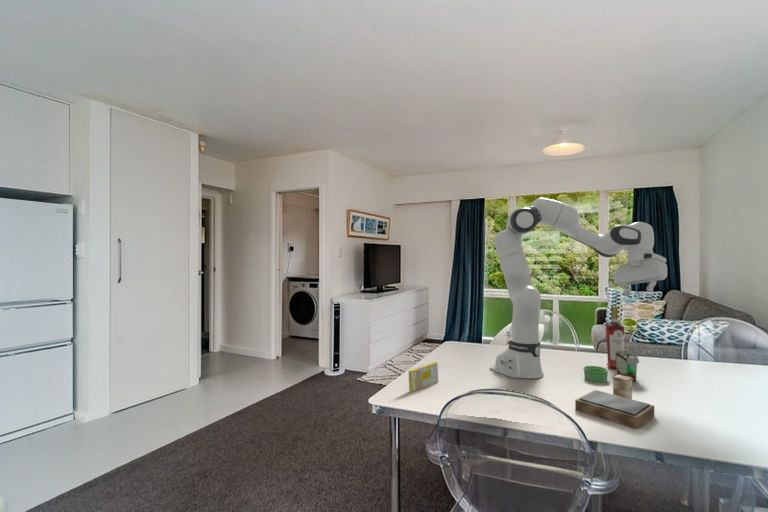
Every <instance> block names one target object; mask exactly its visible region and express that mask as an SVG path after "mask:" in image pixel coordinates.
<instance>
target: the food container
mask: <svg viewBox="0 0 768 512" xmlns="http://www.w3.org/2000/svg"><path fill="white" fill-rule="evenodd" d="M615 356H616V367H617V370H616V375H623V376H627V377H632V382H634V383H636V382H637V372H638V371H637V370H638V369H637V368H638V364H639V363H640V360H639V357H638V355H636V354H633V353H630V352H624V351H623V352H616V353H615ZM635 381H636V382H635Z"/></svg>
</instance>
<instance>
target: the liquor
mask: <svg viewBox="0 0 768 512" xmlns="http://www.w3.org/2000/svg"><path fill="white" fill-rule="evenodd" d="M610 308H611V309H610V310H611V319H610V323H608V324H606V325H605V339H606V351H607V353H606V354H607V362H606V366H607V367H608V368H609V369H610V368H611V370H614V369H617V367H616V356H615V353H616V352H624V348H625V346H624V345H625V344H624V343H625V328H626V327H625V326H623V325H622V324H620V322H619V315H618V314H619V306H617V305H611V307H610Z"/></svg>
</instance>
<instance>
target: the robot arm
mask: <svg viewBox="0 0 768 512" xmlns="http://www.w3.org/2000/svg"><path fill="white" fill-rule="evenodd" d="M539 224H542V225H546V226H548V227H550V228H554V229H555V230H558V231H559V232H561V233H563V234H564V235H565V236H567V237H569V238H570V239H573V240H574V241H576V242H578V243H579V244H580V243H581V244H583V245H585V246H586V247H589V248H590V249H592V250H593V251H594V252H596V253H597V254H598V255H599V256H602V257H604V258H613V257H615V256H617V255H618V254H619V253H621V251H623V250H624V251H627V256H626V263H623V264H619V265H618V266H617V267H616V269H615V273H614V278H613V283H614V284H615V285H617V286H619V287H622V289H623V293H624V295H626V296H627V295H628V296H629V295H631V290H630V289H629V286H631V285H637V284H643V283H649V284H648V286H646V287H645V288H646V292H647V293H651V292H652V293H653V292H654V287H656V285H657V282H658V281H664V280H665V279H667V277H668V265H667V264H666V263H667V258H665V256H663V255H660V254H656V253H654V250H653V248H654V245H655V232H654V229H653V227H652V225H651V224H649V223H647V222H643V221H636V222H633V223H631V224H616V225H614V226H612V227H611V228H610V229H608V230H607V231H606V232H605V233H603V234H597V233H594V232H593V231H590V230H589V229H587V228H585V227H582V225H581V224H580V214H579V212H578V210H577V209H576V208H575V207H573V206H572V205H569V204H568V203H565V202H561V201H558V200H555V199H552V198H551V199H550V198H547V197H539V198H536V199H535V200H534V201H533V202H532V204H531V206H526V207H520V208H518V209H517V208H516V209H515V210H513V211H511V213H509V215H508V216H507V219H506V221H505V225H504V229H503V230H500V231H498V232H497V233H496V234H495V236H494V246H495V251H496V256H497V258H498V262H499V265H500V267H501V271H502V273H503V277H504V280H505V281H504V282H505V284H506V285H505V286H506V288H507V291H508V292H507V293H508V295H509V299H510V301H511V303H512V317H511V319H512V320H511V340H508V341H507V342H506V345H508V348H506V349H505V350H503V351H502V352H500V353H499V354H498V355H496V358H495V363H494V364H491V365H490V368H489V369H490V371H494V372H496V373H498V372H499V373H498V374H502V375H504V376H507V377H509V378H512V379H530V380H531V379H540V378H543V377H544V371H543V369H542V365H541V358H540V357H541V342H540V338H539V337H540V329H539V327H540V316H541V306H542V303H541V302H542V295H541V293H540V291H539V289H537V288H536V287H534V284H533V280H532V276H531V270H530V267H529V263H528V260H527V257H526V254H525V252H524V248H523V246H522V237H523V235H525V234H528V233H530V232H532V231H534V229H535V228H536V227H537V225H539Z"/></svg>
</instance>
